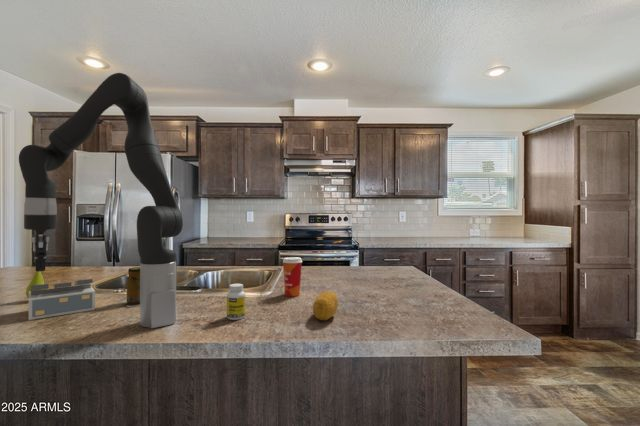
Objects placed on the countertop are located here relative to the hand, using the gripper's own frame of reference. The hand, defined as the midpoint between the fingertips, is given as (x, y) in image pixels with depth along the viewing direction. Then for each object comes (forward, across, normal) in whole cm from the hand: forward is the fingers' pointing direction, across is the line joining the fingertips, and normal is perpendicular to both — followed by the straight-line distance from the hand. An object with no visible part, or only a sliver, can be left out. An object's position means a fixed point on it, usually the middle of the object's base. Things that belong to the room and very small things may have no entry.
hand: (40, 270), depth 99 cm
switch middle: (+6, +3, -5) cm, 9 cm away
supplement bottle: (+13, -39, -45) cm, 61 cm away
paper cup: (+13, -27, -74) cm, 80 cm away
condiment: (+14, -3, -25) cm, 29 cm away
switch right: (+6, +3, -11) cm, 13 cm away
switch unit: (+14, +3, -5) cm, 15 cm away
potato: (+13, -56, -66) cm, 87 cm away
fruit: (+14, +23, +1) cm, 27 cm away
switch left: (+6, +3, 0) cm, 7 cm away
